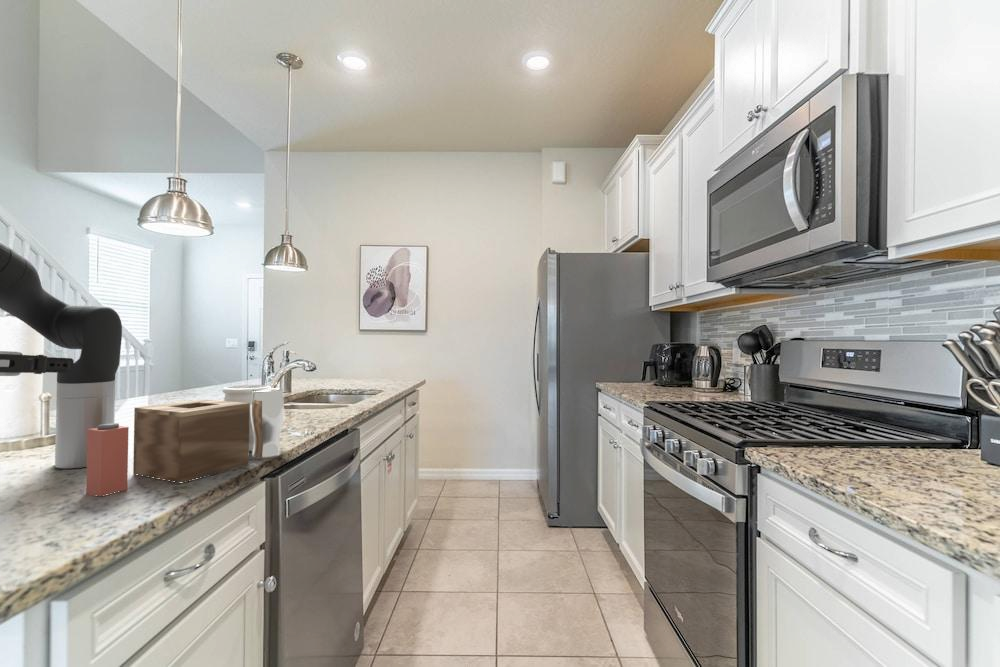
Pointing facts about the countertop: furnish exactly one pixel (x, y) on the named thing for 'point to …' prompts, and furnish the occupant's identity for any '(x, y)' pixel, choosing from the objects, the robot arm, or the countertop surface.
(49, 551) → the countertop surface
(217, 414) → the slot box
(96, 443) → the spice tin
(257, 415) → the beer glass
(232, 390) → the jar
